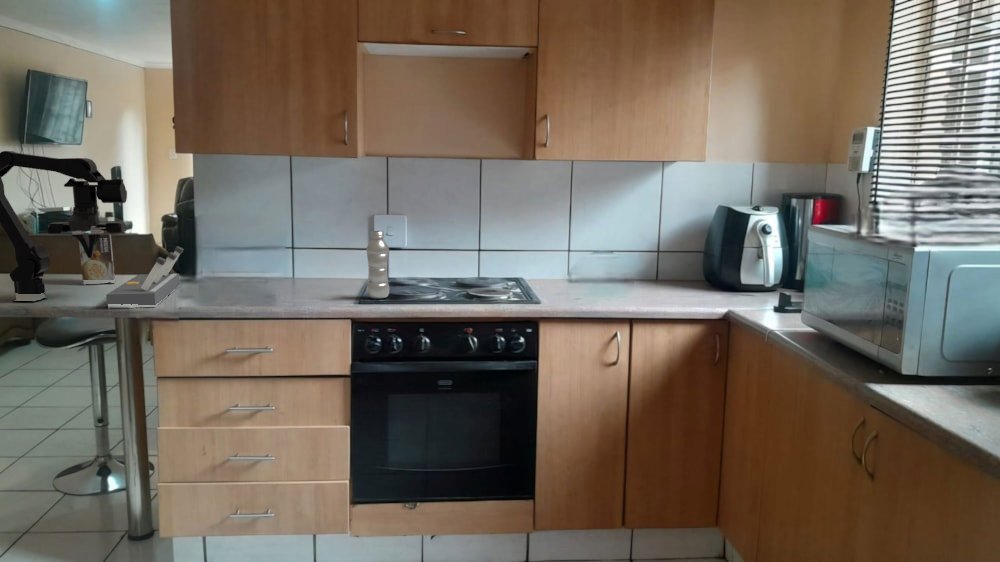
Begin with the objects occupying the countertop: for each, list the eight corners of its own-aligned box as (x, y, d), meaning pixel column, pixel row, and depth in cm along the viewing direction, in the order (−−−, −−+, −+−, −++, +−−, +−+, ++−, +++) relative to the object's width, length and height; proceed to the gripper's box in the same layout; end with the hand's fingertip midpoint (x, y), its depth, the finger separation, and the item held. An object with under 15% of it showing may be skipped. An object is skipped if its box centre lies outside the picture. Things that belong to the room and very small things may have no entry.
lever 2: (160, 273, 223) (176, 247, 223) (162, 272, 226) (177, 246, 226) (166, 276, 224) (182, 250, 224) (168, 275, 226) (183, 249, 226)
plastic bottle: (369, 296, 217) (367, 230, 214) (391, 296, 217) (390, 230, 214) (364, 300, 211) (363, 232, 207) (387, 300, 210) (386, 232, 207)
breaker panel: (107, 309, 194) (106, 293, 194) (139, 287, 228) (138, 273, 227) (155, 307, 197) (154, 292, 196) (179, 286, 231) (179, 272, 230)
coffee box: (116, 281, 239) (112, 232, 236) (114, 284, 233) (110, 234, 231) (84, 282, 235) (80, 233, 233) (82, 285, 230) (77, 235, 227)
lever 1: (139, 287, 198) (157, 257, 198) (142, 285, 201) (160, 256, 201) (146, 291, 199) (164, 261, 199) (149, 289, 202) (166, 260, 201)
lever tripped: (150, 279, 211) (169, 253, 211) (152, 278, 213) (171, 251, 213) (156, 283, 211) (175, 256, 211) (159, 282, 214) (177, 255, 214)
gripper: (37, 204, 194) (43, 262, 196) (114, 204, 198) (118, 260, 201) (52, 202, 204) (57, 257, 207) (124, 202, 209) (128, 255, 211)
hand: (90, 257), depth 206 cm, fingers closed
